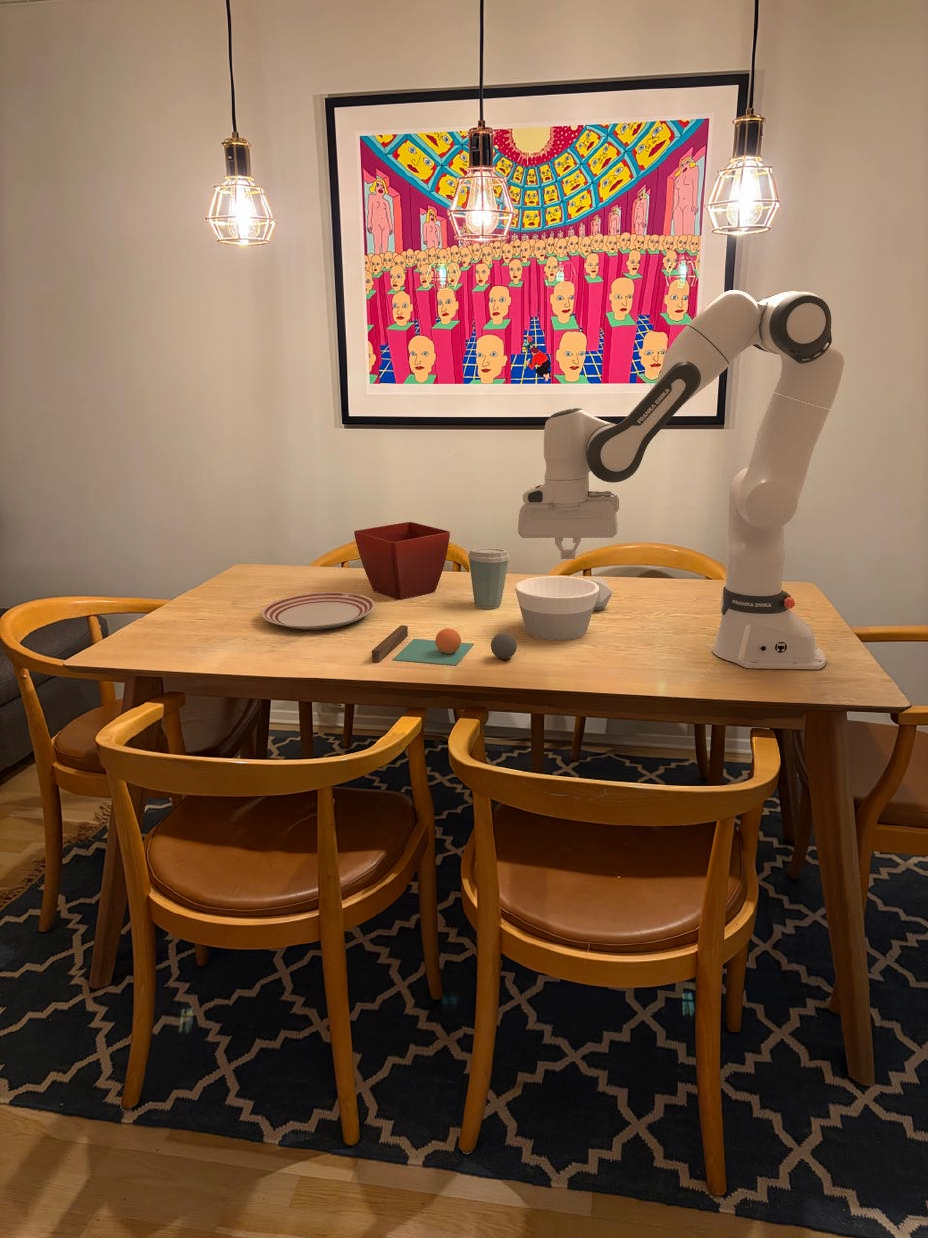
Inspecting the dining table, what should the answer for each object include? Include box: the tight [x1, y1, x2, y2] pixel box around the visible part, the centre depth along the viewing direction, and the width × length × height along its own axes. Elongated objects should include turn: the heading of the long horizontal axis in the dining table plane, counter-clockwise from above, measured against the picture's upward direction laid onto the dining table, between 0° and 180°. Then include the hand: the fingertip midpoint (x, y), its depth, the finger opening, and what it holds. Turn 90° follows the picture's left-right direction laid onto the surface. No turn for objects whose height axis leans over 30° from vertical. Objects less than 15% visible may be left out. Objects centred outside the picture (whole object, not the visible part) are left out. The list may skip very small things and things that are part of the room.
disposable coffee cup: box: [467, 547, 511, 610], centre depth 213 cm, size 11×11×15 cm
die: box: [583, 576, 614, 611], centre depth 211 cm, size 8×9×10 cm
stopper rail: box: [371, 624, 409, 663], centre depth 184 cm, size 2×18×2 cm, turn 165°
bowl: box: [514, 575, 599, 641], centre depth 194 cm, size 19×19×11 cm
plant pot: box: [353, 521, 451, 600], centre depth 227 cm, size 19×19×17 cm
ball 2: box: [490, 632, 518, 660], centre depth 177 cm, size 6×6×6 cm
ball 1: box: [435, 627, 462, 654], centre depth 180 cm, size 6×6×6 cm
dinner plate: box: [261, 591, 376, 631], centre depth 206 cm, size 27×27×3 cm
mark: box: [392, 638, 474, 667], centre depth 182 cm, size 14×14×1 cm
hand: (568, 558), depth 174 cm, fingers closed
